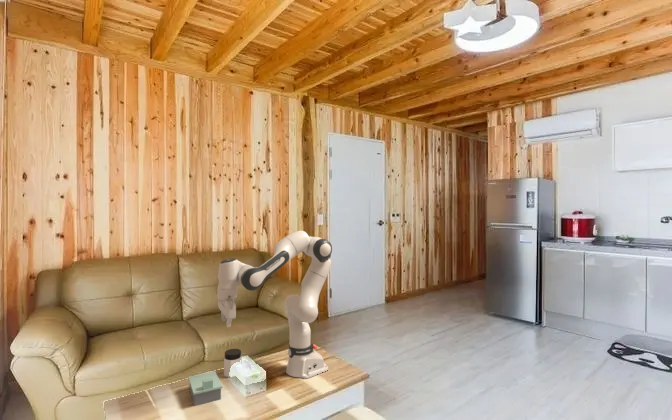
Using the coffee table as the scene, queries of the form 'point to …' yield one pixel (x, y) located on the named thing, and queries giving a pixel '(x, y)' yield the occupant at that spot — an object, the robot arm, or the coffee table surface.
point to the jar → (231, 359)
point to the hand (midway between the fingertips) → (226, 323)
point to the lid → (204, 382)
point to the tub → (205, 396)
